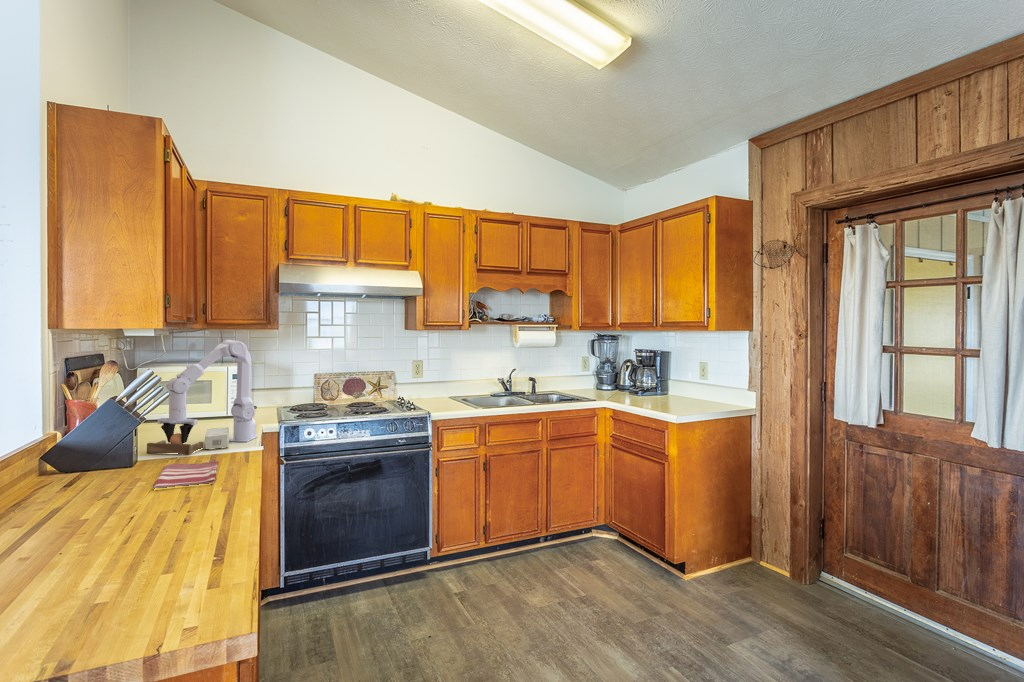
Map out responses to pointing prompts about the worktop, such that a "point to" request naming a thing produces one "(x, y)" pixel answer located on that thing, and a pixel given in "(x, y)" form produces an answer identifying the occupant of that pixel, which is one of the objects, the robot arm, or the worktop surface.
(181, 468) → the dish towel
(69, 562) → the worktop surface
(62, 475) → the worktop surface
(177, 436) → the ball
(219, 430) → the skincare box
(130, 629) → the worktop surface
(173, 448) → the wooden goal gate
